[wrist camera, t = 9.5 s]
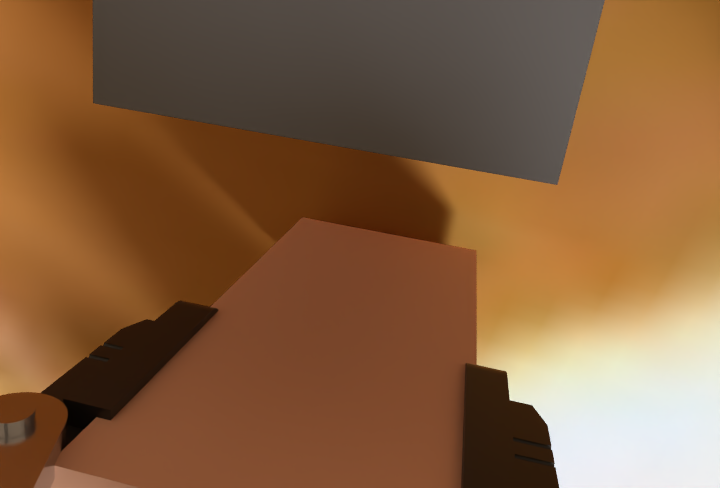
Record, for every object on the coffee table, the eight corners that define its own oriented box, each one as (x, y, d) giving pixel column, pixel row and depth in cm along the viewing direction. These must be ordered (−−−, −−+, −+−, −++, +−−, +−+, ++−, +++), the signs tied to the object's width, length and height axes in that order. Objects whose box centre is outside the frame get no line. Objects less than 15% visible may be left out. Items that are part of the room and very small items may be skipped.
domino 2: (302, 217, 17) (48, 464, 7) (476, 250, 17) (476, 574, 6) (294, 280, 18) (53, 591, 8) (462, 314, 17) (442, 703, 7)
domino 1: (335, -7, 16) (92, -102, 6) (523, 20, 16) (613, -35, 5) (326, 70, 17) (93, 103, 7) (506, 99, 16) (557, 184, 6)
